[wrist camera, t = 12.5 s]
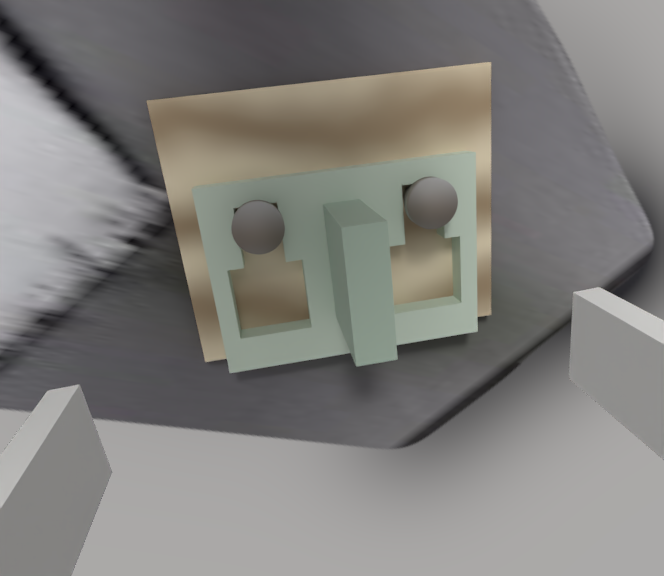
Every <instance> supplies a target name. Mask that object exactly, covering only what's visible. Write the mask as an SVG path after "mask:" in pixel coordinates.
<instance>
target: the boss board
mask: <svg viewBox="0 0 664 576" xmlns="http://www.w3.org/2000/svg"><path fill="white" fill-rule="evenodd" d="M147 106H148V110H149V114H150V119H151V123H152V128H153V132H154V137H155V141H156V146H157V150H158V154H159V159H160V163H161V168H162V172H163V177H164V181H165V185H166V190H167V194H168V199H169V203H170V208H171V212H172V216H173V221H174V225H175V230H176V234H177V239H178V243H179V247H180V252H181V256H182V261H183V265H184V270H185V274H186V278H187V283H188V287H189V292H190V296H191V301H192V305H193V309H194V314H195V318H196V323H197V327H198V332H199V336H200V341H201V345H202V349H203V354H204V358H205V362H210V361H216V360H222V359H227V358H226V353H225V348H224V343H223V338H222V334H221V329H220V324H219V319H218V314H217V310H216V305H215V300H214V295H213V290H212V286H211V281H210V276H209V271H208V266H207V262H206V257H205V252H204V247H203V242H202V238H201V233H200V228H199V223H198V218H197V214H196V209H195V204H194V199H193V194H192V190H191V189H192V188H193V187H194V186H199V185H207V184H214V183H222V182H230V181H237V180H245V179H253V178H260V177H268V176H276V175H283V174H291V173H299V172H306V171H314V170H322V169H329V168H337V167H344V166H352V165H360V164H367V163H375V162H383V161H390V160H398V159H406V158H413V157H421V156H429V155H436V154H444V153H452V152H459V151H472V152H476V222H477V317H481V316H487V315H491V62H486V63H477V64H468V65H460V66H451V67H442V68H433V69H424V70H415V71H406V72H397V73H388V74H379V75H371V76H362V77H353V78H344V79H335V80H326V81H317V82H308V83H299V84H291V85H282V86H273V87H264V88H255V89H246V90H237V91H228V92H219V93H211V94H202V95H193V96H184V97H175V98H166V99H157V100H148V101H147ZM402 198H403V215H404V231H405V244H404V245H397V246H391V247H390V258H391V271H392V285H393V299H394V305H398V304H404V303H410V302H416V301H423V300H429V299H435V298H441V297H448V296H453V269H452V237H451V238H443V237H442V236H440V235H439V234H437V228H440V227H442V226H444V225H446V224H447V223H448V222H449V221H450V220H451V219H452V218H453V216H454V215H455V212H456V210H457V206H458V197H457V193H456V191H455V189H454V187H453V186H452V185H451V184H450V183H449V182H447V181H445V180H443V179H440V178H437V177H431V176H430V177H423V178H421V179H419V180H417V181H415V182H414V183H413V184H408V185H402ZM235 211H236V212H235V214H234V217H233V220H232V226H231V230H232V235H233V238H234V240H235V242H236V243H237V245H238V246H239V247H240V248H241V249H242V250H243V255H244V261H245V263H244V268H242V269H236V270H230V274H231V279H232V284H233V289H234V294H235V300H236V305H237V310H238V315H239V320H240V326H241V330H242V329H248V328H255V327H261V326H267V325H273V324H279V323H286V322H292V321H298V320H304V319H309V311H308V304H307V297H306V290H305V282H304V275H303V268H302V261H301V260H296V261H289V262H286V259H285V253H284V247H283V240H282V239H283V237H284V233H285V225H284V220H283V217H282V215H281V213H280V211H279V210H278V207H277V202H276V203H269V202H267V201H263V200H252V201H248V202H246V203H244V204H243V205H241V206H240V207H239V208H235Z"/></svg>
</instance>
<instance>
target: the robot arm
mask: <svg viewBox="0 0 664 576" xmlns="http://www.w3.org/2000/svg"><path fill="white" fill-rule="evenodd" d="M569 379H570V380H571V381H572V382H573V383H574V384H576V385H577V386H578V387H579V388H580V389H582V390H583V391H584V392H585V393H586V394H587V395H589V396H590V397H591V398H592V399H593V400H594V401H595V402H597V403H598V404H599V405H600V406H601V407H603V408H604V409H605V410H606V411H607V412H608V413H610V414H611V415H612V416H613V417H614V418H615V419H616V420H618V421H619V422H620V423H621V424H622V425H623V426H625V427H626V428H627V429H628V430H629V431H630V432H632V433H633V434H634V435H635V436H636V437H638V438H639V439H640V440H641V441H642V442H643V443H644V444H646V445H647V446H648V447H649V448H650V449H651V450H653V451H654V452H655V453H656V454H657V455H658V456H660V457H661V458H662V459H663V460H664V321H663V320H662V319H660V318H658V317H656V316H654V315H652V314H650V313H648V312H646V311H644V310H642V309H640V308H638V307H636V306H635V305H633V304H631V303H629V302H627V301H625V300H623V299H621V298H619V297H617V296H615V295H613V294H611V293H609V292H607V291H605V290H604V289H602V288H600V287H598V288H593V289H588V290H582V291H577V292H573V307H572V326H571V347H570V367H569ZM111 473H112V470H111V468H110V465H109V462H108V460H107V457H106V454H105V452H104V449H103V446H102V444H101V441H100V438H99V435H98V433H97V430H96V427H95V424H94V422H93V419H92V416H91V414H90V411H89V408H88V406H87V403H86V400H85V397H84V395H83V392H82V389H81V387H80V384H79V385H74V386H69V387H63V388H58V389H53V390H48V391H47V392H46V394H45V395H44V396H43V398H42V399H41V400H40V402H39V403H38V404H37V406H36V407H35V409H34V410H33V411H32V413H31V414H30V415H29V417H28V418H27V419H26V421H25V422H24V424H23V425H22V426H21V428H20V429H19V430H18V432H17V433H16V434H15V436H14V437H13V439H12V440H11V441H10V443H9V444H8V445H7V447H6V448H5V449H4V451H3V452H2V453H1V455H0V576H71V575H72V572H73V570H74V568H75V565H76V562H77V559H78V557H79V555H80V552H81V549H82V547H83V545H84V542H85V539H86V537H87V534H88V532H89V529H90V527H91V524H92V522H93V519H94V516H95V514H96V512H97V509H98V506H99V504H100V501H101V499H102V496H103V494H104V491H105V489H106V486H107V483H108V481H109V478H110V476H111Z"/></svg>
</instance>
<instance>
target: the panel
mask: <svg viewBox="0 0 664 576" xmlns="http://www.w3.org/2000/svg"><path fill="white" fill-rule="evenodd" d="M430 176H431V177H437V178H440V179H443V180H445V181H447V182H449V183H450V184H451V185H452V186H453V187H454V189H455V191H456V193H457V197H458V206H457V210H456V212H455V215H454V216H453V218H452V219H451V220H450V221H449V222H448V223H447V224H446V225H444V226H442V227H440V228H437V234H439V235H440V236H442V237H443V238H451V237H452V269H453V296H448V297H441V298H435V299H429V300H423V301H416V302H410V303H404V304H398V305H394V299H393V285H392V271H391V258H390V247H391V246H397V245H404V244H405V231H404V215H403V198H402V185H408V184H413V183H414V182H415V181H417V180H419V179H421V178H423V177H430ZM191 190H192V194H193V199H194V204H195V209H196V214H197V218H198V223H199V228H200V233H201V238H202V242H203V247H204V252H205V257H206V262H207V266H208V271H209V276H210V281H211V286H212V290H213V295H214V300H215V305H216V310H217V314H218V319H219V324H220V329H221V334H222V338H223V343H224V348H225V353H226V358H227V362H228V367H229V372H230V373H235V372H241V371H247V370H253V369H259V368H265V367H271V366H277V365H282V364H288V363H294V362H300V361H306V360H312V359H318V358H324V357H330V356H336V355H342V354H348V353H351V355H352V358H353V360H354V363H355V365H356V367H357V366H363V365H369V364H375V363H381V362H387V361H392V360H398V358H397V345H401V344H407V343H413V342H419V341H424V340H430V339H436V338H442V337H448V336H454V335H460V334H466V333H472V332H478V318H477V222H476V152H472V151H459V152H452V153H444V154H436V155H429V156H421V157H413V158H406V159H398V160H390V161H383V162H375V163H367V164H360V165H352V166H344V167H337V168H329V169H322V170H314V171H306V172H299V173H291V174H283V175H276V176H268V177H260V178H253V179H245V180H237V181H230V182H222V183H214V184H207V185H199V186H194V187H193V188H192V189H191ZM252 200H263V201H267V202H269V203H276V202H277V207H278V210H279V211H280V213H281V215H282V217H283V220H284V225H285V233H284V237H283V239H282V240H283V247H284V253H285V259H286V262H289V261H296V260H301V261H302V268H303V275H304V282H305V290H306V297H307V304H308V311H309V319H304V320H298V321H292V322H286V323H279V324H273V325H267V326H261V327H255V328H248V329H242V330H241V326H240V320H239V315H238V310H237V305H236V300H235V294H234V289H233V284H232V279H231V274H230V270H236V269H242V268H244V263H245V261H244V255H243V250H242V249H241V248H240V247H239V246H238V245H237V243H236V242H235V240H234V238H233V235H232V230H231V226H232V220H233V217H234V214H235V212H236V211H235V208H239V207H240V206H241V205H243V204H244V203H246V202H248V201H252Z"/></svg>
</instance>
